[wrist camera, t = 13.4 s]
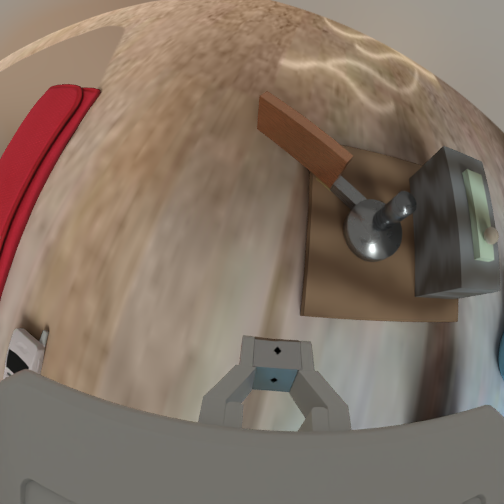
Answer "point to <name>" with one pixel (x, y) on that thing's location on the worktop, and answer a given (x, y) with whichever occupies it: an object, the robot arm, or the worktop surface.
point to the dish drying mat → (35, 160)
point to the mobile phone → (25, 352)
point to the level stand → (404, 242)
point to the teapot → (501, 356)
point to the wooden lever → (337, 180)
